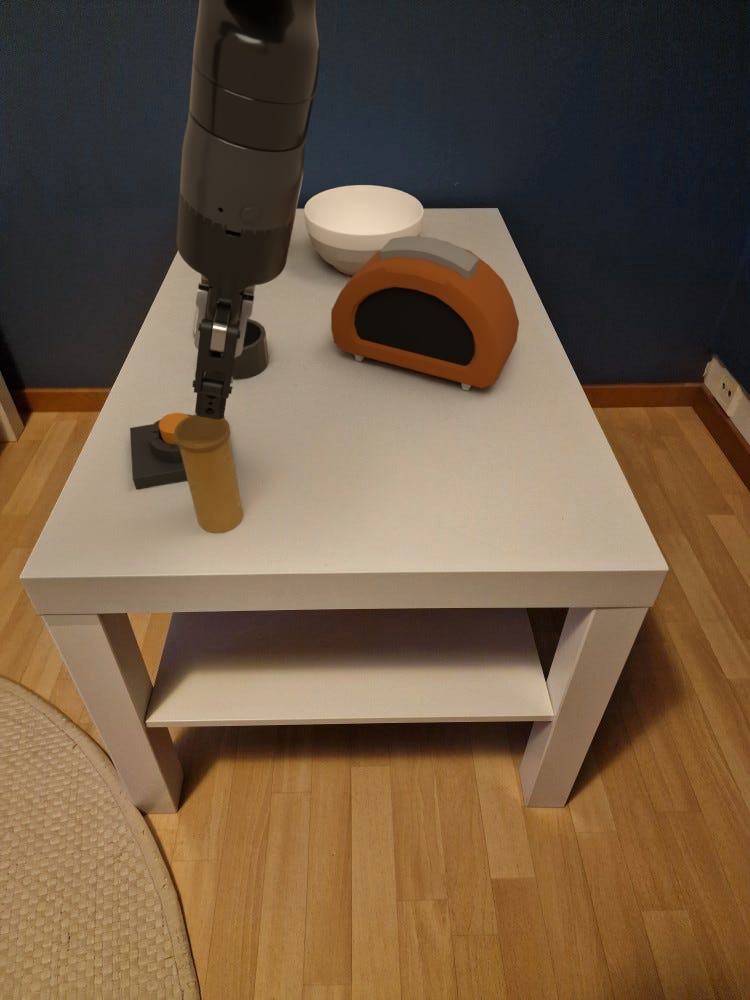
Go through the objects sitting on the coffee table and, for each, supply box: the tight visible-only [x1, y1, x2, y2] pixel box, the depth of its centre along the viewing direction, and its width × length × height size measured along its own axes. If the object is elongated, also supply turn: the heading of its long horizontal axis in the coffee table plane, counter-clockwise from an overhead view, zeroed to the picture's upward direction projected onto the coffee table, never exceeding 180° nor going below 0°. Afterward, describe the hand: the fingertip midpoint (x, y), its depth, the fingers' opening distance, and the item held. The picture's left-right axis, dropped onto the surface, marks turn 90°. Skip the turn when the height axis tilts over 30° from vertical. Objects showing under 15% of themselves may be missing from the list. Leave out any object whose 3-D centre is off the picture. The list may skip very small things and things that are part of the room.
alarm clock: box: [330, 235, 520, 391], centre depth 88 cm, size 23×9×17 cm, turn 66°
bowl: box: [303, 184, 425, 277], centre depth 111 cm, size 19×19×9 cm
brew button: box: [159, 412, 189, 444], centre depth 77 cm, size 4×4×2 cm
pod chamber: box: [232, 318, 270, 380], centre depth 92 cm, size 8×8×4 cm
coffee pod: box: [174, 413, 244, 534], centre depth 69 cm, size 5×5×12 cm
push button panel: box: [129, 413, 226, 490], centre depth 79 cm, size 11×9×4 cm
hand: (215, 379), depth 57 cm, fingers open, 8 cm apart
